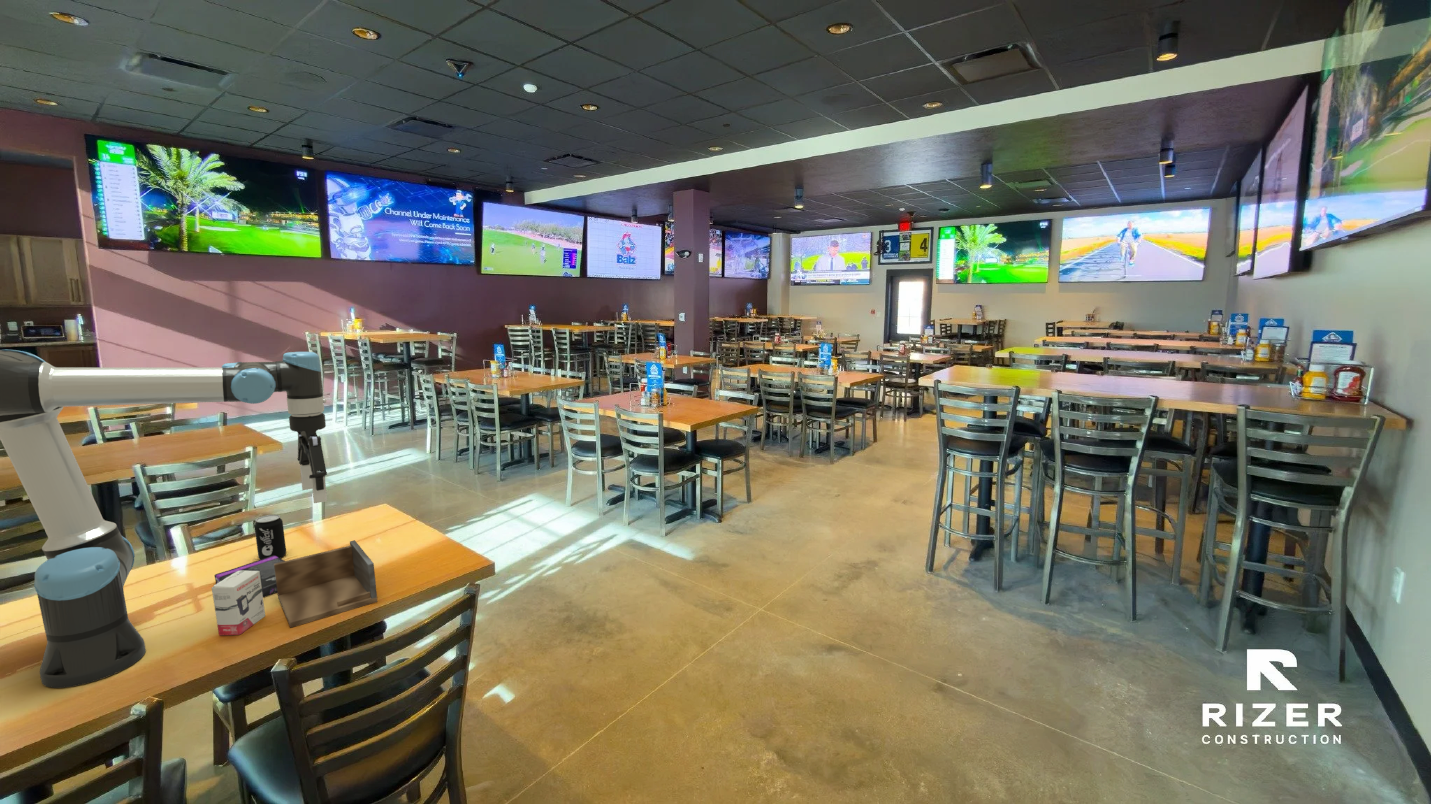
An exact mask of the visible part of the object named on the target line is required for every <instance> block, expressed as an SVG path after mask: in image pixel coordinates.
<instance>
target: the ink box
mask: <svg viewBox="0 0 1431 804" xmlns="http://www.w3.org/2000/svg"><path fill="white" fill-rule="evenodd" d="M211 593H212V599H213V604H214V605H213V606H214V612H215V619H216V624H217V631H218V635H219V636H240V635H242V634H243V633H244V632H246V631H247V630H248V629H250V628H251V627H252V626H254V625H256V624H257V623H258V622H260V620H262V619H263V618H265V617H266V612H265V603H264V597H263V594H262V587H261V579H260V571H243V570H240V571H237V572H235V573H233V574H232V575H230V576H229V577H227V578H225V579H224V580H222V581H220V582H219V583H217V584H216V583H215V584H214V585H213V586H212V587H211Z"/></svg>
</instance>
